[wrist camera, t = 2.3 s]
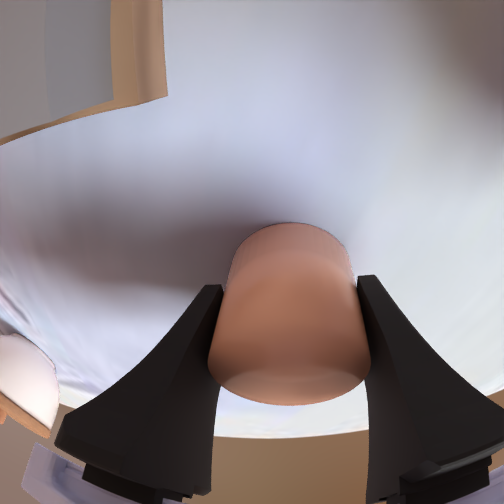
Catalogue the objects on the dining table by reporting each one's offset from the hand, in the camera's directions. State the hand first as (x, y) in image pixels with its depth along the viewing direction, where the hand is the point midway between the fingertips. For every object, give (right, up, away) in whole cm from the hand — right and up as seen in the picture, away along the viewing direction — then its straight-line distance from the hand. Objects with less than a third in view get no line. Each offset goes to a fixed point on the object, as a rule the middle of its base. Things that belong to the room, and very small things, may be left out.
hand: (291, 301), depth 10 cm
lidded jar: (-24, -9, +12) cm, 28 cm away
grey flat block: (-8, +9, -6) cm, 14 cm away
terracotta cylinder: (0, +1, +1) cm, 1 cm away
